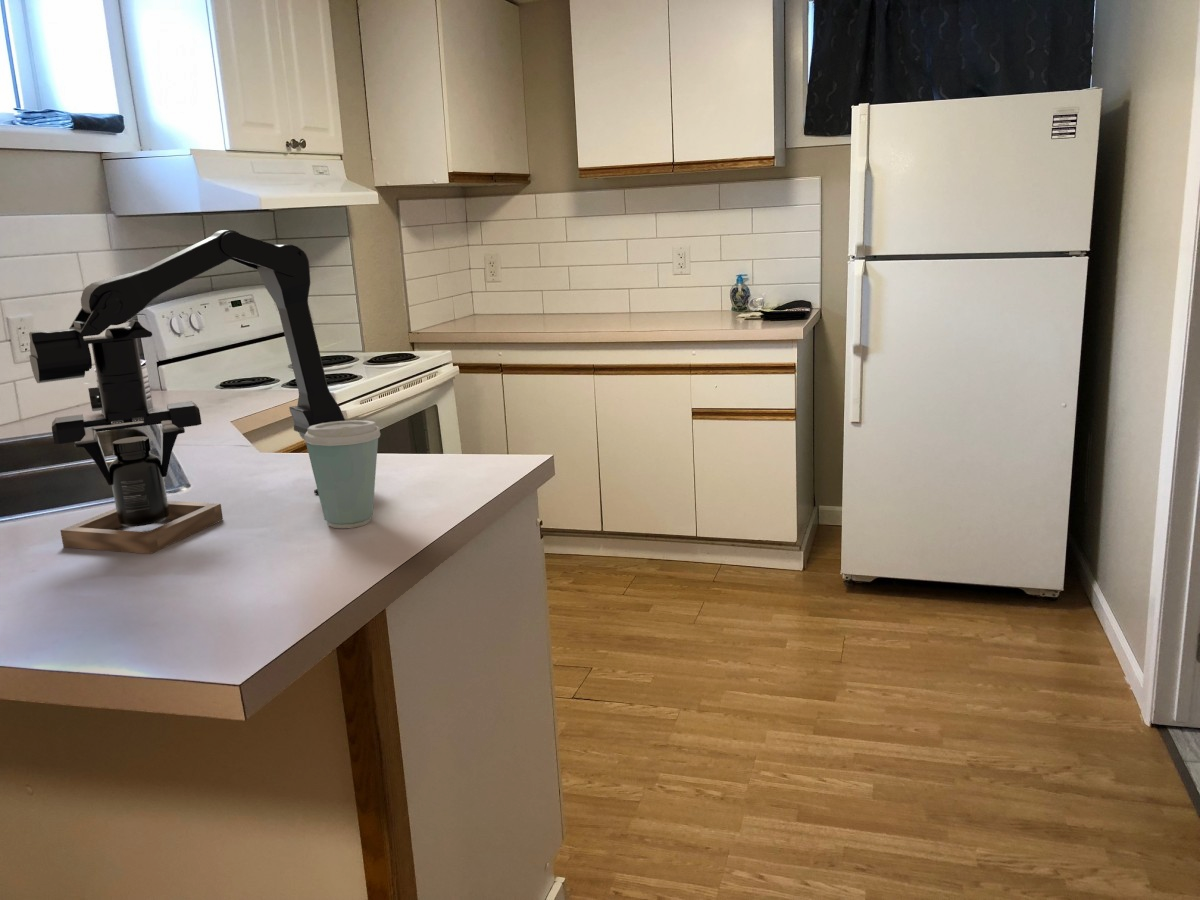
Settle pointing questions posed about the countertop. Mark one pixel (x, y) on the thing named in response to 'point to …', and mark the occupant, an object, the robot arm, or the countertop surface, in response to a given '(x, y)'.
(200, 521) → the square wooden frame
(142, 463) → the supplement bottle
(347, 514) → the disposable coffee cup
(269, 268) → the robot arm
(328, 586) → the countertop surface
